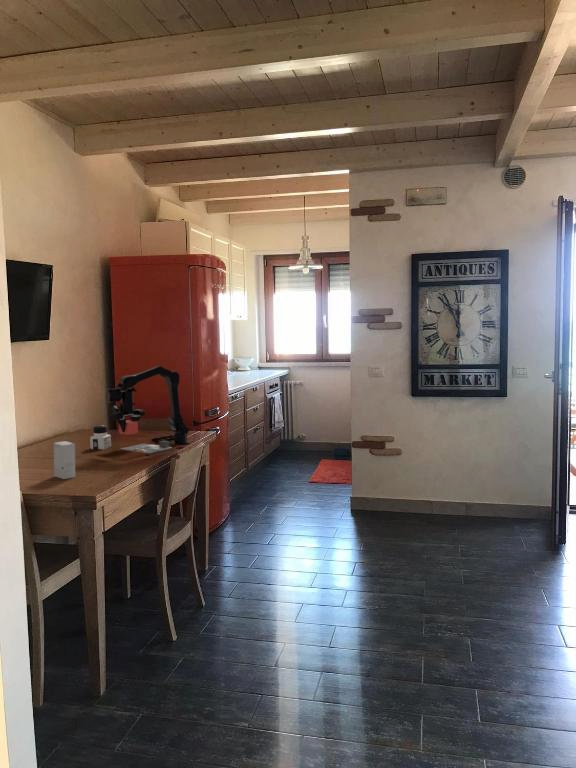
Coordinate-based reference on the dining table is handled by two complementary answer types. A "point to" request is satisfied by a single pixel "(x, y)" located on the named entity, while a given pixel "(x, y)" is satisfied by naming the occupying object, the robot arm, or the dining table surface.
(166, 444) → the gray box
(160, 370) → the robot arm
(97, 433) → the container
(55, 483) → the dining table surface
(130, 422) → the cap
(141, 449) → the panel
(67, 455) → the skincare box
